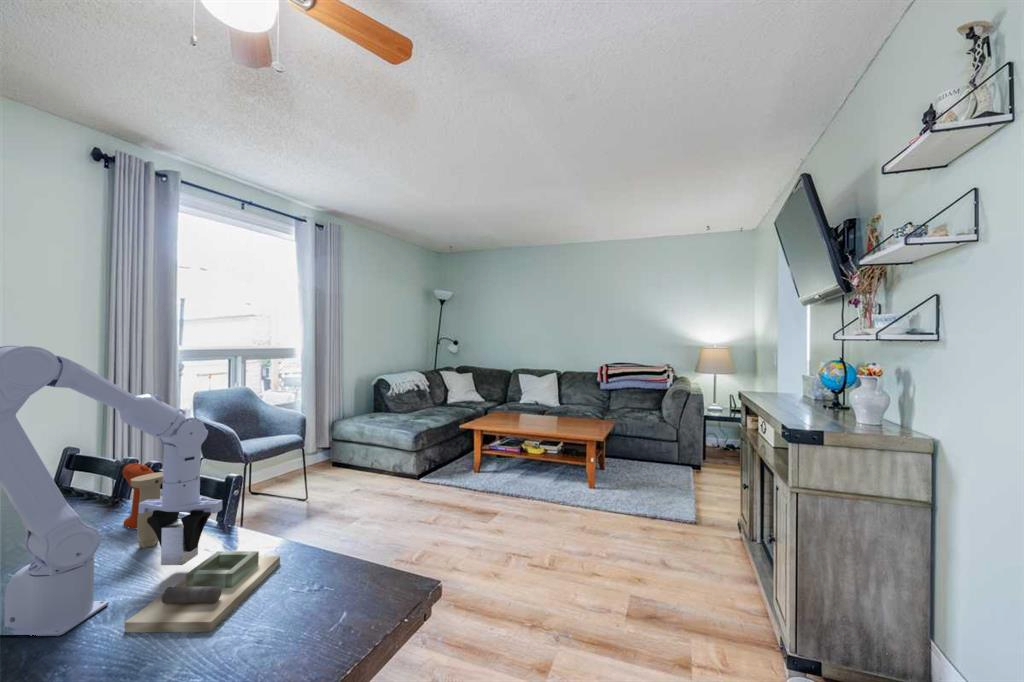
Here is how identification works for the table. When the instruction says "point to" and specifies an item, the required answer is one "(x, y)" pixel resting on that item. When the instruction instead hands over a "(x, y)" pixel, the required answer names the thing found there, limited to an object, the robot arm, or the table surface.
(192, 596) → the block
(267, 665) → the table surface
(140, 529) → the handle
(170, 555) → the key peg
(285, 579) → the table surface
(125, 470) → the toy drill
